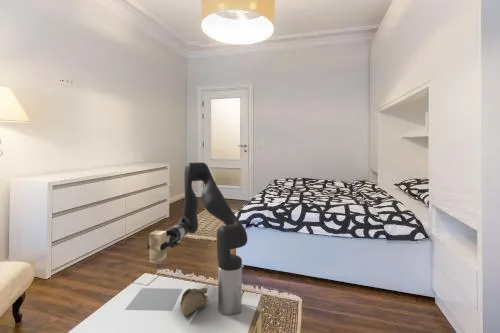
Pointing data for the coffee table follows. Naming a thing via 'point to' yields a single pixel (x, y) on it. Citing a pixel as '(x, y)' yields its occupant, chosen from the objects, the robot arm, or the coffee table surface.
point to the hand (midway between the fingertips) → (154, 247)
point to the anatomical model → (193, 300)
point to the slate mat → (155, 299)
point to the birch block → (157, 246)
